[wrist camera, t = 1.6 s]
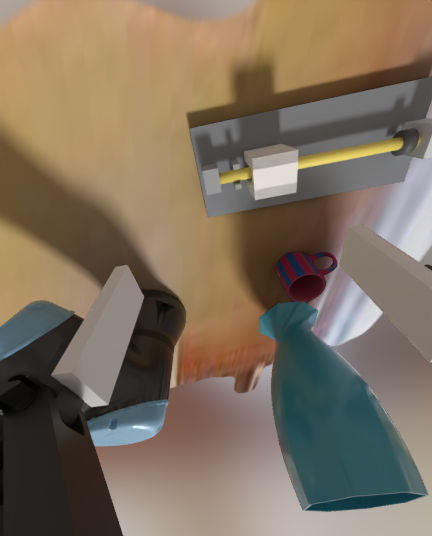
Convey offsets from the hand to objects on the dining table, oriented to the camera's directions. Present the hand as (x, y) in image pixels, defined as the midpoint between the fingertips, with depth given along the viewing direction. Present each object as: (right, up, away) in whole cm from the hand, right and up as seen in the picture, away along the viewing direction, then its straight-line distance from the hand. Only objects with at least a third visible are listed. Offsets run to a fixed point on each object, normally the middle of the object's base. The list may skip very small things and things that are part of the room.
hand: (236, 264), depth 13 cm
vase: (+16, -13, +39) cm, 44 cm away
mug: (+15, +1, +28) cm, 32 cm away
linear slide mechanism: (+11, +16, +17) cm, 26 cm away
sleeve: (+5, +14, +16) cm, 22 cm away
